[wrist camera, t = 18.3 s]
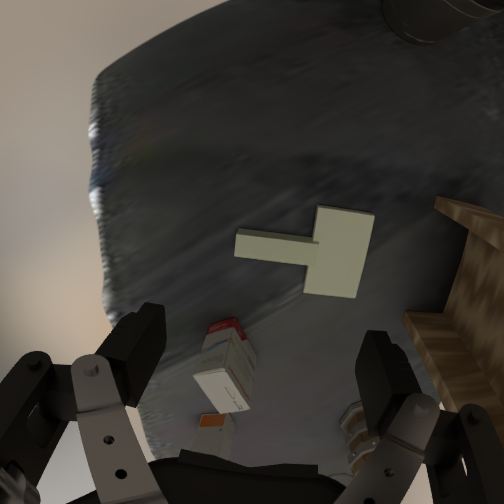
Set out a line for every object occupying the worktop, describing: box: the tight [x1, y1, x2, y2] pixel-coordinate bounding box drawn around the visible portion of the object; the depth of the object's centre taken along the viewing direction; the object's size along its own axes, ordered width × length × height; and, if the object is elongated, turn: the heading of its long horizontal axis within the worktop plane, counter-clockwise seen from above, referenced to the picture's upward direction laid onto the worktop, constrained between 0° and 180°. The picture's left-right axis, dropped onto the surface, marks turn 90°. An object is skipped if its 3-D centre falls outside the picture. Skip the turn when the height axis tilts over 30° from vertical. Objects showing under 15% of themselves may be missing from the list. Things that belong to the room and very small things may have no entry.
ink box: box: [193, 317, 257, 414], centre depth 43 cm, size 9×5×12 cm, turn 23°
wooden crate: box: [402, 196, 504, 449], centre depth 26 cm, size 20×9×32 cm, turn 175°
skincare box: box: [191, 413, 235, 460], centre depth 51 cm, size 6×4×12 cm
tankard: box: [340, 401, 380, 477], centre depth 48 cm, size 20×13×15 cm, turn 165°
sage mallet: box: [234, 205, 375, 298], centre depth 41 cm, size 12×17×2 cm
